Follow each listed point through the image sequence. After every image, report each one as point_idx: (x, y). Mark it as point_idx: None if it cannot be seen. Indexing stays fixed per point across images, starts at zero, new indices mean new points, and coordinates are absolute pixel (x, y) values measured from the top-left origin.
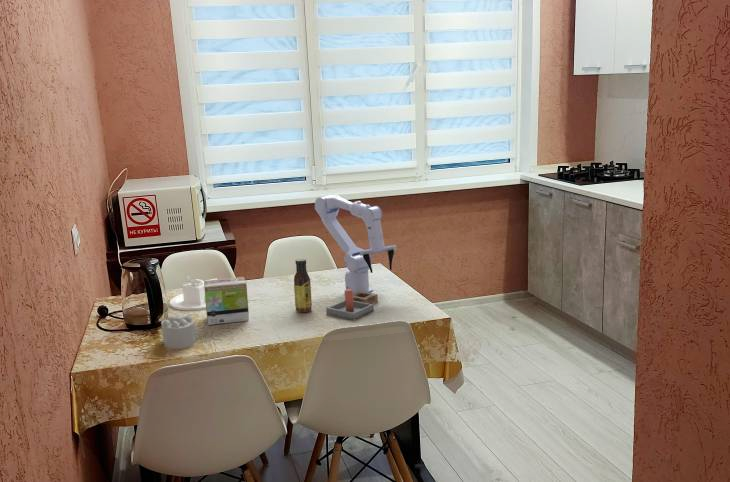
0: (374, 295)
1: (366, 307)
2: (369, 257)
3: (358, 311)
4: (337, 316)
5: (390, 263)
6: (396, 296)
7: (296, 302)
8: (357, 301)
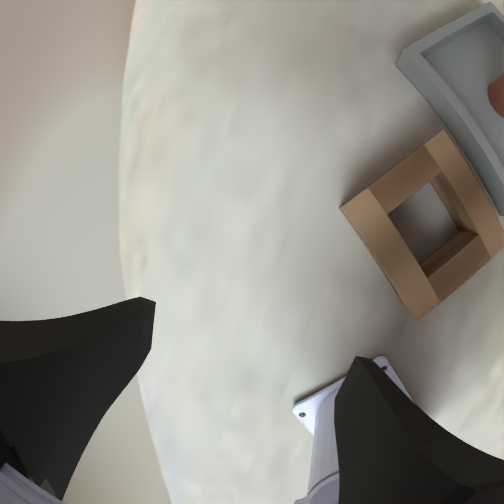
0: (369, 186)
1: (441, 29)
2: (439, 492)
3: (473, 10)
4: None
5: (101, 316)
6: (208, 255)
7: None
8: (479, 142)
